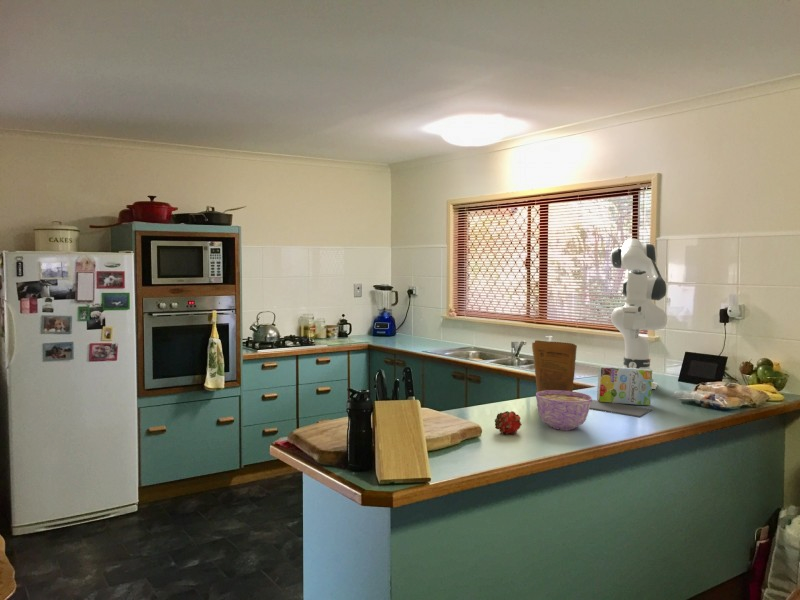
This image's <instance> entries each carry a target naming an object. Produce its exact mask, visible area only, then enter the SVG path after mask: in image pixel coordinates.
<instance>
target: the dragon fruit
mask: <svg viewBox="0 0 800 600" xmlns="http://www.w3.org/2000/svg"><path fill="white" fill-rule="evenodd" d="M522 424H523V423H521V416H520V415H519V414H516V412H515V411H504V412H500V413H497V414H496V418H495V419H494V426H495V429H496V430H498V431H499V432H501V434H503V435H507V434H510V435H515V434H517V432H518V430H519V429H521V426H522Z"/></svg>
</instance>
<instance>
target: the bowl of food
mask: <svg viewBox="0 0 800 600" xmlns="http://www.w3.org/2000/svg"><path fill="white" fill-rule="evenodd" d="M535 397H536V406H537V405H538V406H537V408H538V409H537V410H538V414H539V416H540V419H541V420H542V421H543V422H544V423H545V424H547V425H548V426H550V427H551V428H552V427H553V428H552V429H555V430H559V429H560V431H561V430H563V431H571V429H572V430H574V429H575V428H578V427H579V426H582V425H583V424H584V423H585V422H586V420H587V418H588V414H589V412H590V410H591V409H590V405H591V402H592V400H593V396H591V395H589V394H587V393H583V392H578V391H573V392H572V391H562V390H546V391H539V392H537V391H536V393H535Z"/></svg>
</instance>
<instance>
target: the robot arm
mask: <svg viewBox="0 0 800 600" xmlns="http://www.w3.org/2000/svg"><path fill="white" fill-rule="evenodd" d="M657 258H658V251H657V248H656V246H655V245H654V244H651V243H646V244H643V243H642V242H641V240H640V239H637V238H629V239H627V240H625V241H624V243H623V244H622V246H618V247H615V248H613V249H612V250H611V253H610V256H609V259H610V263H611V264H612V266H613V267H614V268H616V269H622V268H624V269H625V273H624V280H623V281H622V291H621V294H622V295H623V296H624V297H625V303H624V305H623V306H619V307H615V308H613V310H612V312H611V314H610V321H611V324H612V326H614V328H616V329H617V330H618V331H619V333H620V334H621V335H622V337H623V340H624V357H623V360H622V361H623V363H622V364H623V366H622V367H625V368H637V369H649V370H652V368H651V367H650V366H651V358H650V343H649V341H648V340H647V339H646V338H644V337H643V336H641V335H639V334H640V332H641V330H642V331H657V330H663V329H664V328H665V327H666V325H667V322H668V315H667V313H666V311H665V310H664V309H662V308H660V307H659V306H657V305H656V304H655V302H654V301H660V300H662V299H664V298H665V296H666V294H667V283H666V281H665V279H664V278H663V277H662V274H661V273H660V270H659V268H658V266H657V263H656V262H657ZM657 388H658V383H657V382H655V381H654V373H653V372H652V385H651V390H652V389H655V390H656V389H657Z"/></svg>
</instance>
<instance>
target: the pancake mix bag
mask: <svg viewBox="0 0 800 600" xmlns="http://www.w3.org/2000/svg"><path fill="white" fill-rule="evenodd" d="M577 346H578V345H577V344H574V343H572V342H564V341H548V340H535V341H534V342H532V343H531V349H532V355H533V356H532V357H533V365H534V373H535V381H536V382H535V383H536V384H535V385H536V393H537V392H539V391H546V390H562V391H572V392H574V390H573V389H574V382H575V381H574V380H575V373H576V371H575V370H576V359H577V348H578V347H577ZM536 406H537V407H538V405H537V404H536Z"/></svg>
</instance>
